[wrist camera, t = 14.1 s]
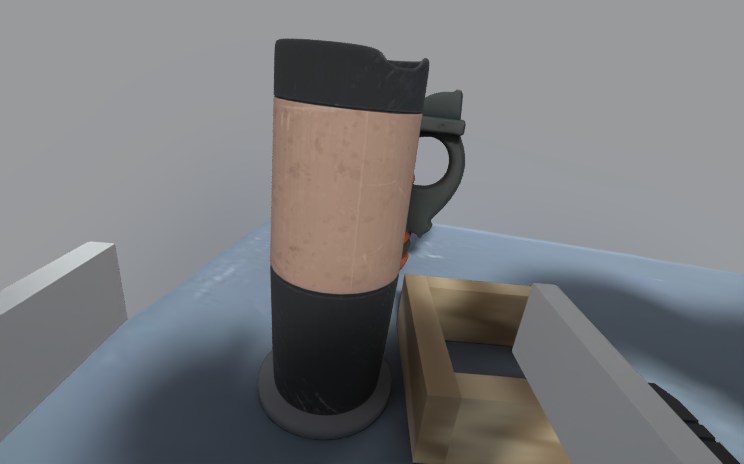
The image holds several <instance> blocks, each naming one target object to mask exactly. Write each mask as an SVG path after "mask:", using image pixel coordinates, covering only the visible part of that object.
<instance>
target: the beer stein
mask: <svg viewBox="0 0 744 464" xmlns="http://www.w3.org/2000/svg"><path fill="white" fill-rule="evenodd" d="M462 98H463V94H462V91H460V90H456V91H455V92H440V93H436V94H432V95H430V96H428V97H426V98H425V100H424V107H423V112H422V120H421V127H420V134H419V137H434V138H436V139H438V140H440V141H441V142H442V143H443V144H444V145H445V147H446V148H447V151H448V154H449V165H448V169H447V172H446V173H445V175H444V176H443V177H442V178H441V179H440V180H439V181H438V182H436V183H434V184H431V185H427V186H421V185H414V184H413V183H414V180H415V176H414V175H413V182H412V189H411V196H410V203H409V210H408V217H407V224H406V230H405V237H404V244H403V251H402V258H401V265H400V269H401V267H403V265H404V264H405V262H406V261H407V258H408V256H409V254H408V250H407V249H408V247H409V245H410V240H409V238H410V236H411V232H412V233H414V234H416V235H417V236H418V237H419V238H421V236H422V235H423V234H425V233H426V232H428V231H429V230H430V228H431V227H432V223H431V219H432V218H433V217H434V216H435V215H436V214H437V213H438V212H439V211H440V210H441V209H442V208H443V207H444V206H445V205H446V204H447V203H448V201H449V200H450V199H451V197H452V196H453V195H454V193H455V192H456V190H457V188H458V186H459V184H460V182H461V179H462V176H463V173H464V167H465V153H464V147H463V143H462V140H461V137H460V136H461V135H463V134H464V130H465V121H464V120H461V111H462Z"/></svg>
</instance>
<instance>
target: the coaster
mask: <svg viewBox="0 0 744 464" xmlns="http://www.w3.org/2000/svg"><path fill="white" fill-rule="evenodd" d="M390 389H391V372H390V369H389V366H388V364H387V362H386V360H385V359H384V357H383V360H382V364H381V369H380V374H379V379H378V383H377V386H376V388H375V390H374V392H373V394H372V395H371V396H370V398H369V399H368V400H367V401H366V402H365V403H363V404H362V405H361V406H359V407H357V408H355V409H353V410H351V411H348V412H346V413H342V414H337V415H316V414H311V413H307V412H304V411H301V410H299V409H297V408H295V407H293V406H292V405H290V404H289V403H288V402H286V401H285V400H284V399H283V397H282V396H281V395H280V393H279V392H278V390H277V388H276V385H275V381H274V372H273V350H272V351H271V352H270V353H269V354H268V355H267V357H266V358H265V360H264V361H263V364H262V366H261V368H260V372H259V378H258V391H259V399H260V402H261V405H262V407H263V409H264V411H265V412H266V414H267V415H268V416H269V417H270V419H271V420H272V421H273V422H274V423H276V424H277V425H278V426H280V427H281V428H283V429H285V430H286V431H288V432H290V433H293V434H295V435H298V436H302V437H305V438H311V439H327V440H328V439H337V438H342V437H346V436H350V435H352V434H355V433H357V432H359V431H361V430H363V429H365V428H367V427H368V426H369V425H371V424H372V423H373V422H374V421H375V420H377V419H378V417H379V416H380V415H381V414H382V412H383V411H384V409H385V407H386V405H387V403H388V400H389V395H390Z"/></svg>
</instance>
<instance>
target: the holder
mask: <svg viewBox="0 0 744 464" xmlns="http://www.w3.org/2000/svg"><path fill="white" fill-rule="evenodd" d="M531 288H532V286H524V285H514V284H503V283H493V282H482V281H472V280H461V279H451V278H440V277H430V276H419V275H409V274H405V275H404V281H403V287H402V293H401V300H400V306H399V312H398V318H397V331H398V339H399V348H400V357H401V365H402V374H403V383H404V391H405V400H406V409H407V417H408V426H409V435H410V443H411V452H412V461H413V462H414V463H428V464H572V463H571V462H570V460H569V458H568V456H567V454H566V452H565V450H564V448H563V447H562V445H561V443H560V441H559V439H558V437H557V435H556V433H555V432H554V430H553V428H552V426H551V424H550V422H549V420H548V418H547V417H546V415H545V413H544V411H543V409H542V407H541V405H540V403H539V401H538V400H537V398H536V396H535V394H534V392H533V390H532V388H531V386H530V385H529V383H528V381H527V379H526V378H514V377H502V376H490V375H478V374H465V373H454V370H453V366H452V363H451V360H450V356H449V353H448V350H447V346H446V343H445V340H448V341H460V342H471V343H483V344H494V345H506V346H513V345H514V342H515V339H516V336H517V333H518V329H519V326H520V323H521V320H522V317H523V313H524V310H525V307H526V304H527V300H528V297H529V294H530V291H531Z"/></svg>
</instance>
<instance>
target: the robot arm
mask: <svg viewBox="0 0 744 464" xmlns="http://www.w3.org/2000/svg"><path fill="white" fill-rule="evenodd" d="M127 319H128V318H127V312H126V306H125V300H124V295H123V289H122V283H121V277H120V271H119V265H118V259H117V253H116V248H115V244H112V243H101V242H91V241H89V242H87V243H85V244H83V245H82V246H80V247H78V248H76V249H75V250H73V251H71V252H69V253H67V254H65V255H64V256H62V257H60V258H58V259H57V260H55V261H53V262H51V263H49V264H48V265H46V266H44V267H43V268H41V269H39V270H37V271H35V272H33V273H32V274H30V275H28V276H26V277H24V278H22V279H21V280H19V281H17V282H15V283H14V284H12V285H10V286H8V287H6V288H5V289H3V290H1V291H0V442H1V441H2V440H3V439H4V438H5V437H6V436H7V435H8V434H9V433H10V432H11V431H12V430H13V429H14V428H15V427H16V426H17V425H18V424H20V423H21V422H22V421H23V420H24V419H25V418H26V417H27V416H28V415H29V414H30V413H31V412H32V411H33V410H34V409H35V408H36V407H37V406H38V405H39V404H40V403H41V402H42V401H43V400H44V399H45V398H46V397H47V396H48V395H49V394H51V393H52V392H53V391H54V390H55V389H56V388H57V387H58V386H59V385H60V384H61V383H62V382H63V381H64V380H65V379H66V378H67V377H68V376H69V375H70V374H71V373H72V372H73V371H74V370H75V369H76V368H77V367H78V366H79V365H81V364H82V363H83V362H84V361H85V360H86V359H87V358H88V357H89V356H90V355H91V354H92V353H93V352H94V351H95V350H96V349H97V348H98V347H99V346H100V345H101V344H102V343H103V342H104V341H105V340H106V339H107V338H108V337H109V336H110V335H112V334H113V333H114V332H115V331H116V330H117V329H118V328H119V327H120V326H121V325H122V324H123V323H124V322H125V321H126V320H127ZM512 353H513V355H514V356H515V358H516V360H517V362H518V364H519V366H520V368H521V370H522V371H523V373H524V375H525V377H526V379H527V381H528V383H529V385H530V386H531V388H532V390H533V392H534V394H535V396H536V398H537V400H538V401H539V403H540V405H541V407H542V409H543V411H544V413H545V415H546V417H547V418H548V420H549V422H550V424H551V426H552V428H553V430H554V432H555V433H556V435H557V437H558V439H559V441H560V443H561V445H562V447H563V448H564V450H565V452H566V454H567V456H568V458H569V460H570V462H571V463H572V464H740V463H739V462H738V461H737V460H736V459H735V458H734V457H733V456H732V455H731V454H730V453H729V452H728V451H727V450H726V449H725V448H724V446H723V445H722V444H721V443H720V442H716V441H715V437H714V436H713V435H712V434H711V433H710V432H709V431H708V430H707V429H706V428H705V427H704V426H703V425H699V423H698V420H697V419H696V418H695V417H694V416H693V415H692V414H691V413H690V412H689V411H688V410H687V409H686V408H685V407H684V406H683V405H682V404H681V403H680V401H678V400H677V399H676V398H674V397H673V396H671V395H670V394H669V393H667V392H666V391H664V390H663V389H662V388H660V387H659V386H657V385H656V384H655V383H647V382H646V381H645V380H644V379H643V378H642V376H641V375H640V374H639V373H638V372H637V371H636V370H635V369H634V368H633V367H632V366H631V365H630V364H629V363H628V361H627V360H626V359H625V358H624V357H623V356H622V355H621V354H620V353H619V352H618V351H617V350H616V349H615V347H614V346H613V345H612V344H611V343H610V342H609V341H608V340H607V339H606V338H605V337H604V336H603V335H602V334H601V332H600V331H599V330H598V329H597V328H596V327H595V326H594V325H593V324H592V323H591V322H590V321H589V320H588V318H587V317H586V316H585V315H584V314H583V313H582V312H581V311H580V310H579V309H578V308H577V307H576V306H575V305H574V303H573V302H572V301H571V300H570V299H569V298H568V297H567V296H566V295H565V294H564V293H563V292H562V291H561V289H560V288H559V287H558V286H557V285H553V284H542V283H533V284H532V288H531V291H530V294H529V297H528V300H527V304H526V307H525V310H524V313H523V317H522V320H521V323H520V326H519V329H518V333H517V336H516V339H515V342H514V345H513V349H512Z"/></svg>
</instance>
